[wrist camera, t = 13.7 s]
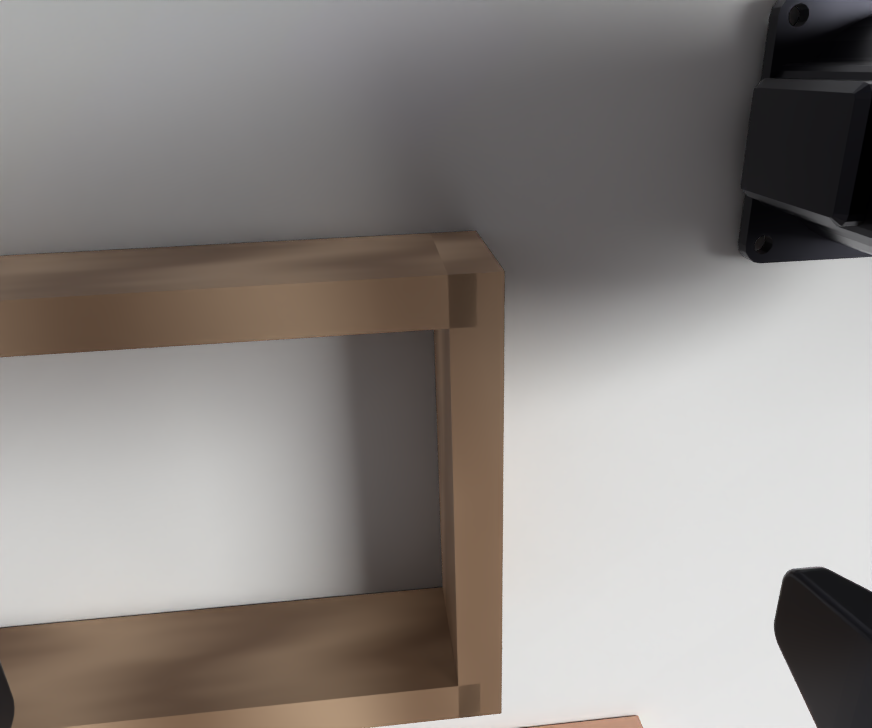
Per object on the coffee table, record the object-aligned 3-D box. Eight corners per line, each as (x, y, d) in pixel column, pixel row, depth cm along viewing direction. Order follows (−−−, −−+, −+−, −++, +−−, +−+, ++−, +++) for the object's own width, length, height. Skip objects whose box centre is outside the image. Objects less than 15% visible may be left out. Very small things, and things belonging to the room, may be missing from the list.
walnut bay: (476, 230, 19) (504, 271, 15) (479, 612, 24) (501, 713, 20) (-199, 266, 17) (-351, 320, 14) (-44, 662, 22) (-123, 780, 19)
